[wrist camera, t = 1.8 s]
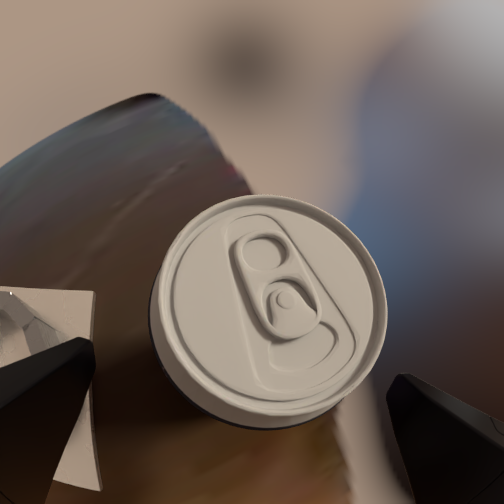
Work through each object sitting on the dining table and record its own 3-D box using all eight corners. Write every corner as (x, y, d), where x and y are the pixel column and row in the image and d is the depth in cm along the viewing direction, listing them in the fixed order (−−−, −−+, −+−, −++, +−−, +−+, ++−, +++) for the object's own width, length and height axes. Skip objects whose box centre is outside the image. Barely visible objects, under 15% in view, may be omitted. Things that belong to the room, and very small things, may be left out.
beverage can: (199, 422, 14) (194, 480, 3) (168, 334, 16) (117, 207, 6) (288, 390, 15) (434, 355, 5) (254, 308, 18) (330, 170, 7)
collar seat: (103, 488, 10) (85, 502, 7) (-34, 438, 7) (-58, 437, 5) (96, 294, 16) (79, 274, 13) (-27, 286, 14) (-47, 269, 11)
